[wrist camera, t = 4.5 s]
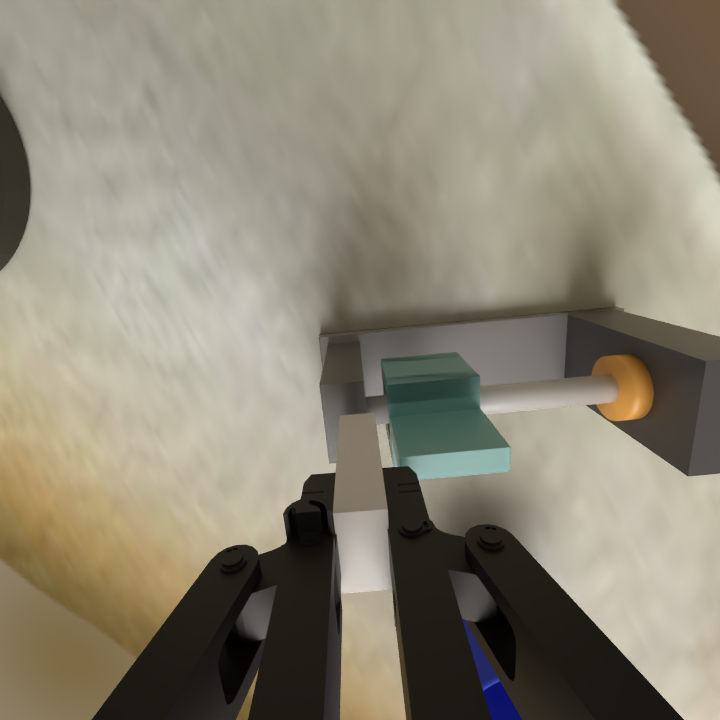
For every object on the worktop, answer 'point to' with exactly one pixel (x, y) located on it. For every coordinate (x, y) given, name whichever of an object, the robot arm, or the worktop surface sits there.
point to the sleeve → (440, 418)
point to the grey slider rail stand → (553, 374)
